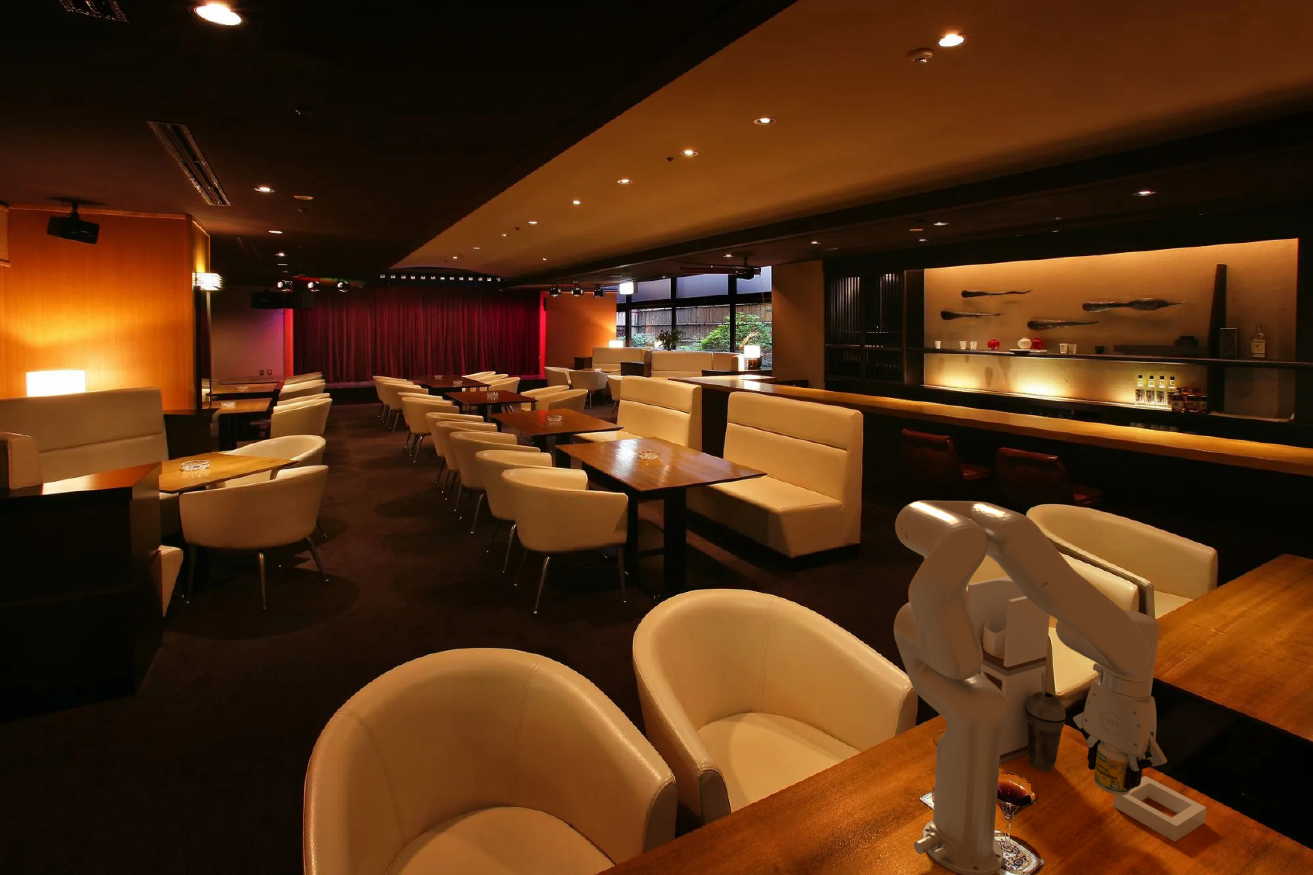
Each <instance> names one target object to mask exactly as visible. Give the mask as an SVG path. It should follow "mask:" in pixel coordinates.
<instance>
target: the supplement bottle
mask: <svg viewBox="0 0 1313 875" xmlns="http://www.w3.org/2000/svg"><path fill="white" fill-rule="evenodd" d="M1128 767H1130V762H1129V757H1128V754H1126V753H1124V752H1122V751H1120V750H1118V749H1116V748H1114V747H1113V746H1111V745H1109V744H1107V743H1105V742H1103V741H1102V742H1101V743H1100V744H1099V745H1098V749H1097V758H1096V766H1095V769H1094V778H1093V780H1094V783H1095V784H1096V786H1097V787H1098V788H1100V789H1101V790H1102V791H1105V792H1106V793H1108V794H1112V795H1114V796H1115V795H1119V796H1123V795H1127V794H1128V793H1129V792H1130V790H1129V791H1128V790H1127V789H1125V788H1124V783H1125V775H1126V769H1127V768H1128Z"/></svg>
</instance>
